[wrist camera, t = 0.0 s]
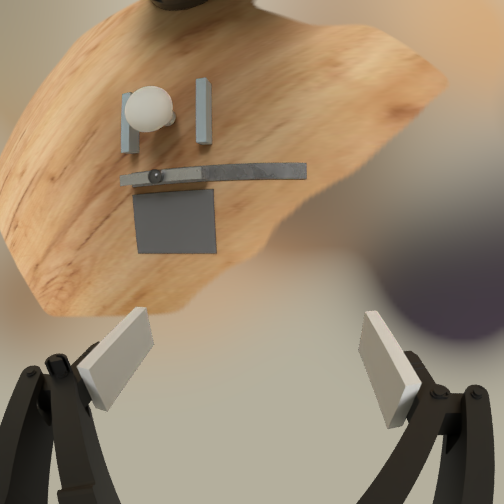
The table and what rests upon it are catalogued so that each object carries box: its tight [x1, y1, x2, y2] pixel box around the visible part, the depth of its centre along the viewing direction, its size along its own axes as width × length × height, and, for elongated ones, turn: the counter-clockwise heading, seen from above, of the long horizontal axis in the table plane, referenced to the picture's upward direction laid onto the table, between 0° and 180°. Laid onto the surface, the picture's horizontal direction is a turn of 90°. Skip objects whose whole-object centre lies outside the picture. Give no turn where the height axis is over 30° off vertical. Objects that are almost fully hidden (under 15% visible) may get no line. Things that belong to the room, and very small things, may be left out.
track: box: [132, 163, 307, 187], centre depth 41 cm, size 2×28×1 cm, turn 92°
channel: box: [121, 78, 212, 154], centre depth 37 cm, size 10×14×4 cm
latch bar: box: [120, 167, 209, 186], centre depth 38 cm, size 2×13×6 cm, turn 92°
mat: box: [133, 189, 217, 253], centre depth 43 cm, size 10×14×1 cm
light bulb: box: [125, 86, 176, 132], centre depth 34 cm, size 7×7×11 cm
